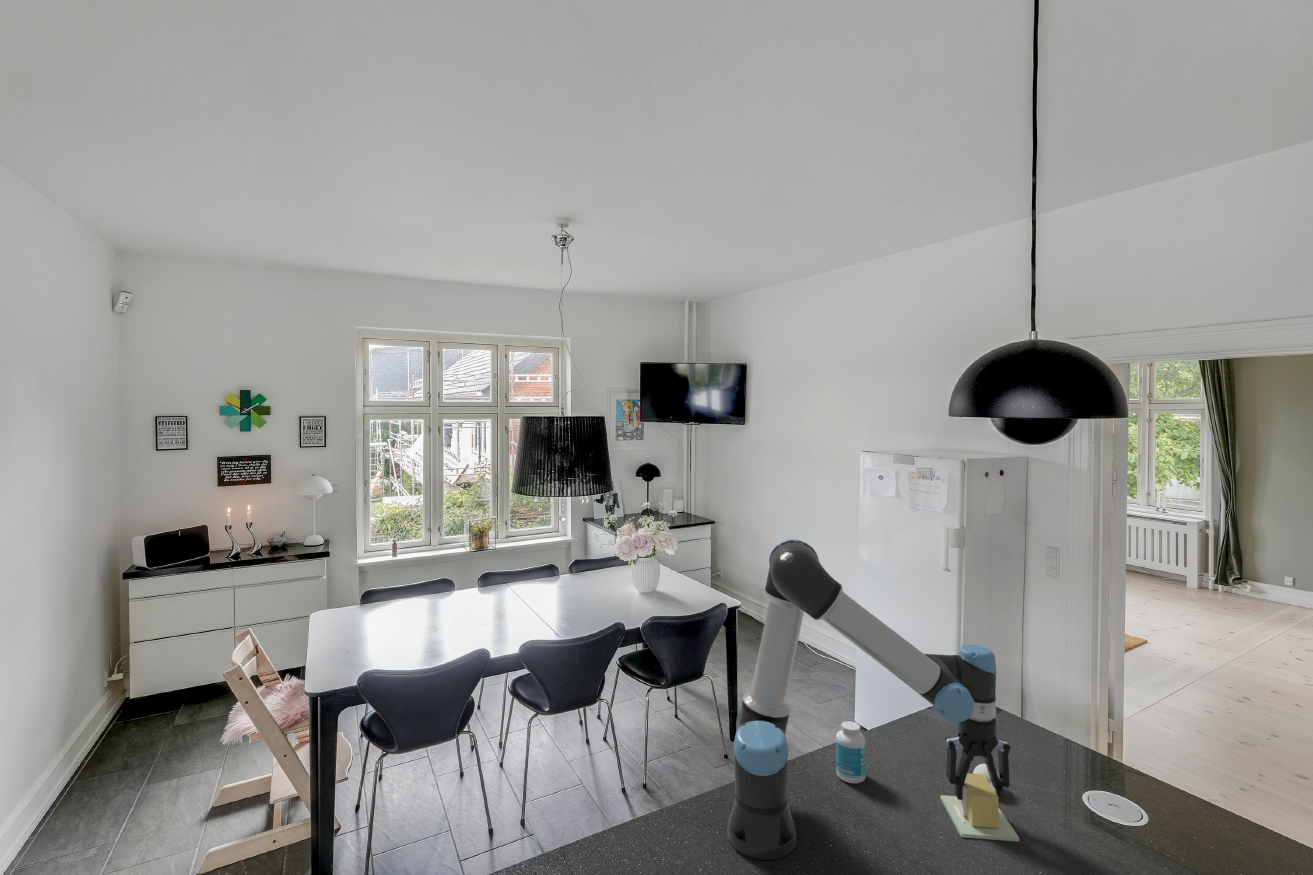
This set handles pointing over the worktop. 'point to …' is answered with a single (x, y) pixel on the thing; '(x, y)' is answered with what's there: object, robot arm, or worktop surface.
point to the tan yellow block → (981, 802)
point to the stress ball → (983, 772)
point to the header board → (971, 831)
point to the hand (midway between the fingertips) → (977, 813)
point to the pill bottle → (850, 753)
